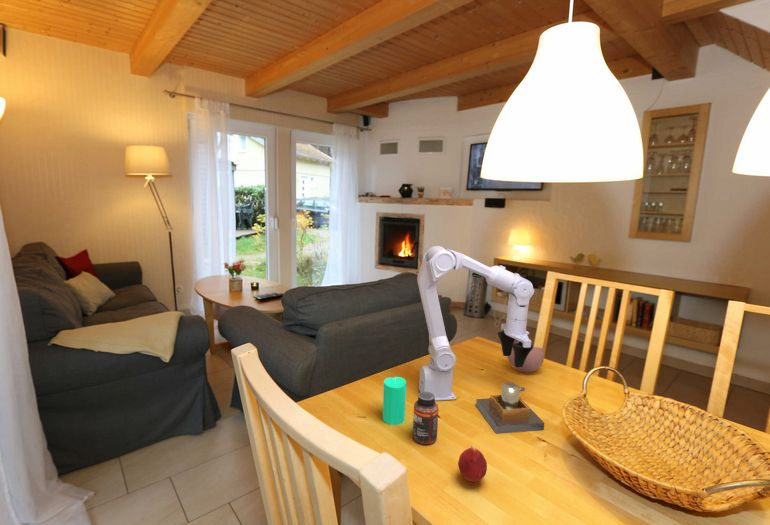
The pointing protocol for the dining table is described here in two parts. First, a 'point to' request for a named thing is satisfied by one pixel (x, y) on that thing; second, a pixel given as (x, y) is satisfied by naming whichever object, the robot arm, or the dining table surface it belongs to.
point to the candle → (394, 400)
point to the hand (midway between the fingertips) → (512, 360)
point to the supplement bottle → (425, 418)
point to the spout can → (510, 395)
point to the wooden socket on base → (509, 416)
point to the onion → (472, 464)
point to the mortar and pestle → (529, 360)
